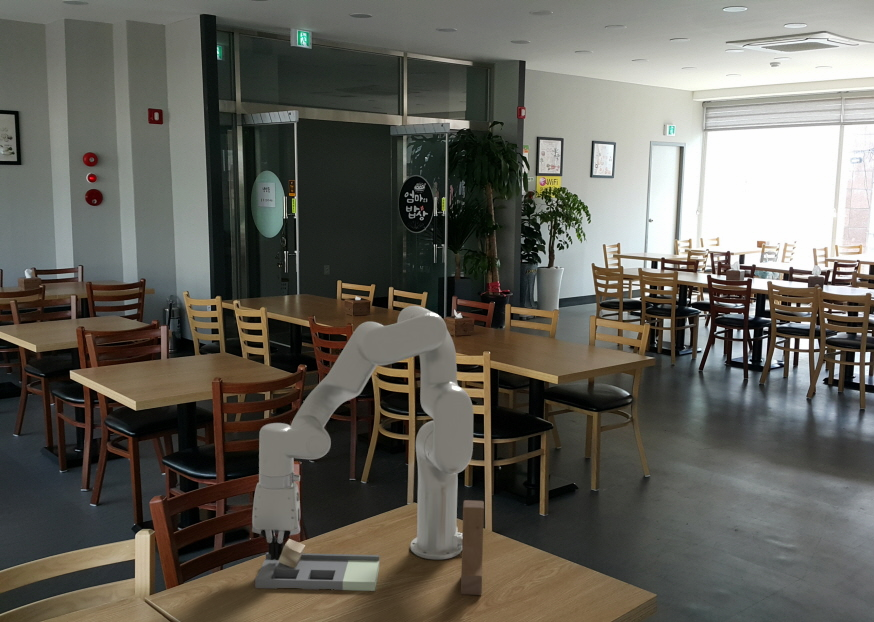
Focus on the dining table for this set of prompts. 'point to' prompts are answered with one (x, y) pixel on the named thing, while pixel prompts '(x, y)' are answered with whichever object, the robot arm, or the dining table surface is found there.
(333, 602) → the dining table surface
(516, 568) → the dining table surface
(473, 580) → the wooden block
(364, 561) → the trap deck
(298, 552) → the ash cube
